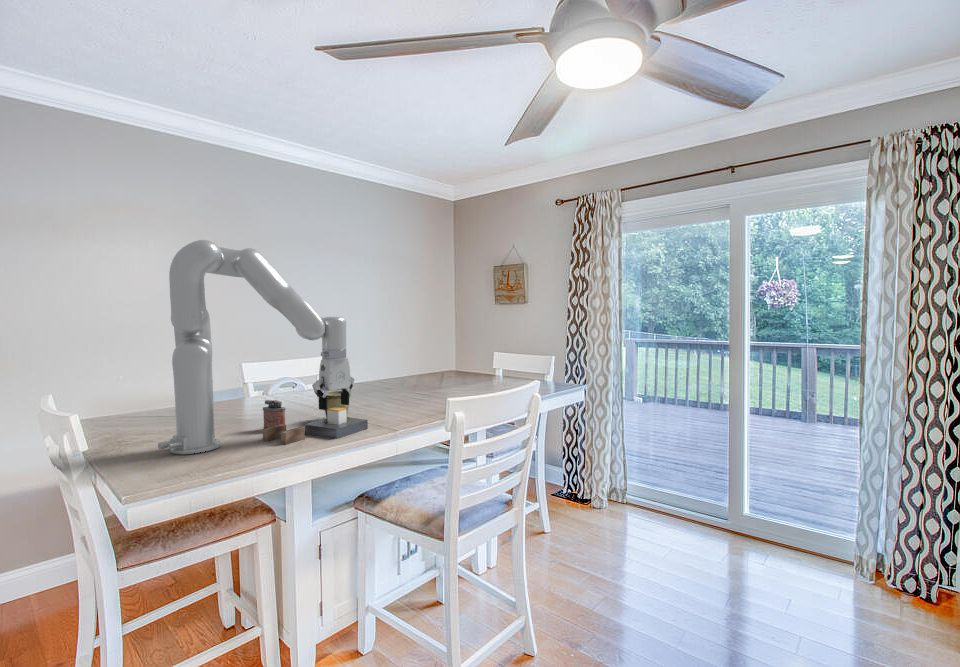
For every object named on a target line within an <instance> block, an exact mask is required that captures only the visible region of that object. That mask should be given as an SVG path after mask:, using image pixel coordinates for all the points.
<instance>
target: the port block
mask: <svg viewBox="0 0 960 667" xmlns="http://www.w3.org/2000/svg"><path fill="white" fill-rule="evenodd" d="M368 421H369V420H368V419H363V418H357V417H349V416H347V422H346V423H342V424H339V425H335V424H328V421H327V418H324V419H323V418H322V419H320V420H319V419H318V420H315V421H312V422H309V423H308V422H307V423H304V427H303V428H304V431H305V434H306V435H310V436H317V437H324V438H330V439H335V438H336V440H337V439H340V437H341V438H343V436H344V437H346V436H350V435H353V434H355V433H359V432H361V431H364V430H368V428H369V426H368Z"/></svg>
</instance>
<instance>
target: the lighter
mask: <svg viewBox="0 0 960 667" xmlns="http://www.w3.org/2000/svg"><path fill="white" fill-rule="evenodd" d="M282 404H283V402H282V401H279V400H278V399H274V400H271V399H266V400H264V405H267V406H263V407H262V412H263V429H265V428H269V427H273V426H277V425H281V424H284V425H286V407H284V406H282ZM263 429H262V430H263Z"/></svg>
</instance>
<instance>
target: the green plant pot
mask: <svg viewBox="0 0 960 667" xmlns="http://www.w3.org/2000/svg"><path fill="white" fill-rule="evenodd" d="M341 392H342V390H335V391H329V392H328V393H327V395H326V397H327V409H329V408H333V407H340V408H346V416H347V417H348V414H349V407H350V404H349V405H343V404H341ZM351 393H352V392H350V393H349V403H350V400H351V395H352V394H351ZM324 412H325V417H326V418H327V410H324ZM326 418H325V419H326Z"/></svg>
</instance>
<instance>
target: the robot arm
mask: <svg viewBox="0 0 960 667" xmlns="http://www.w3.org/2000/svg"><path fill="white" fill-rule="evenodd" d="M168 272H169V273H168V274H169V275H168V276H169V278H168V279H169V280H168V281H169V282H168V283H169V301H170V321H171V322H170V323H171V325H172V326H173V332H174V342H175V348H174V350H173V352H172V355H171V356H172V360H171V361H172V362H171V363H172V372H173V373H172V374H173V375H172V376H173V390H174V408H175V409H174V410H175V431H176V433H175V435H172V438H171V439H169V440H165V441H162V442H158V443H157V447H158V450H160V451H161V450H163V449H164V450H165V449H170V453H172V454H175V455H194V453H195V454H201V453H206V452H210V451H214V450H216V449H218V448H220V447H221V446H222V441H221V440H220V439H217V438H216V435H215V429H216V428H215V412H214V411H215V408H214V405H215V404H214V382H213V381H214V380H213V345H212V341H213V340H212V333H211V332H212V331H211V319H210V313H209V311H208V309H207V303H206V293H205V292H206V290H205V276H206V274H212V275H220V276H227V277H234V278H243V279H245V281H246V282H247V283H248V284H249V285H250V286H251V287H252V288H253V289H254V290H255V291H256V293H257V294H259V296H261V298H262V299H263V300H264V301H265V302H266V303H267V304H269V306H270V307H272V308H273V309H274V310H277V311H278V312H279V313H280V314H281V315H282V316H283V317H284V318H286V319H287V320H288V321H289V322H290V324H291V325H292V326H293V327H294V328H295V331H296V333H297V335H298V336H299V337H301V338H303V339H305V340H308V341H317V340H319V339H321V353H320V356H321V360H320V364H319V370H318V380H317V381H315V382H314V383H312V389H313V391H314V394H315V395H316V397H317V398H318V410H323V411H325V410H327V397H326V395H327V393H328V392H329V391H340V390H342V392H341V404H343V405H349V406H350V402H349V393H350V392H351V390H352V389H353V387H354V386H353V384H354V382H355V378H354V377H352V376H351V369H350V368H351V367H350V362H349V359H348V358H347V320H346V318H345V317H343V316H325V317H320V315H318V314H317V312H316V311H315V310H314V309H313V308H312V307H311V305H309V303H307V302H306V300H305V299H303V297H301V295H300V294H299V293H298V292H297V291H296V290H295V288H293V286H292V285H290V284H289V282H288V281H287V280H286V279H285V278H284V277H283V276H282V275H281V273H280V272H278V270H277V269H276V268H275V267H274V266H273V265H272V264H271V262H269V260H268V259H267V258H266V257H265V256H264V255H263V253H261V252H260V251H259V250H257V249H255V248H252V247H251V248H244V249H243V248H242V249H240V250H239V249H233V248H226V247H221V246H218V245H217V244H216V243H215V242H213V241H211V240H208V239H198V240H195V241H192V242H189V243H187V244H186V245H185V246H182V248H180V249H178V251H177V252H176V254H175V255H174V256H173V258H172V260H171V263H170V266H169V271H168ZM351 393H352V392H351ZM205 451H206V452H205ZM200 452H201V453H200Z"/></svg>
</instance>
